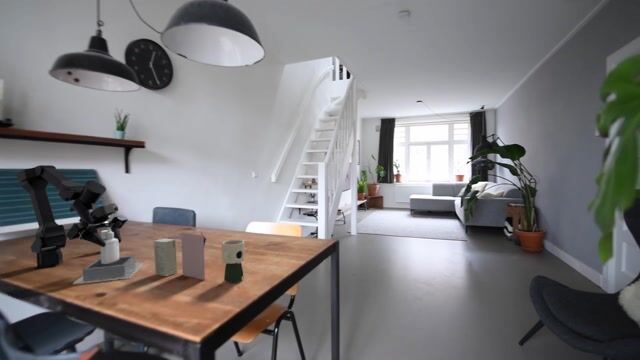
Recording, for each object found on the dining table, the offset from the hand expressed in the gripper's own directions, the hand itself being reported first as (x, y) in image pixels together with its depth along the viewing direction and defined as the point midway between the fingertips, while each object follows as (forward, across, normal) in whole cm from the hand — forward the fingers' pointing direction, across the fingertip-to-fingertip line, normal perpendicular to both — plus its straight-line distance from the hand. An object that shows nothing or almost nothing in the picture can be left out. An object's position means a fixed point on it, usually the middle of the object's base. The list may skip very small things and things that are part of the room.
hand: (112, 243), depth 102 cm
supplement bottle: (-14, +23, +30) cm, 40 cm away
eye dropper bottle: (+4, 0, +6) cm, 7 cm away
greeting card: (+29, +4, -14) cm, 33 cm away
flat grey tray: (+7, 0, +8) cm, 11 cm away
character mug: (+40, +4, -25) cm, 48 cm away
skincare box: (+21, +4, -6) cm, 22 cm away
